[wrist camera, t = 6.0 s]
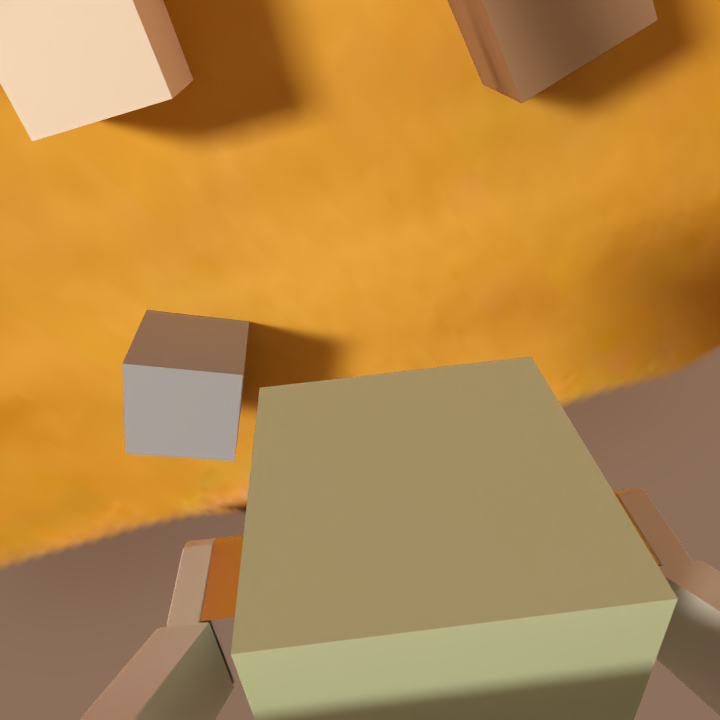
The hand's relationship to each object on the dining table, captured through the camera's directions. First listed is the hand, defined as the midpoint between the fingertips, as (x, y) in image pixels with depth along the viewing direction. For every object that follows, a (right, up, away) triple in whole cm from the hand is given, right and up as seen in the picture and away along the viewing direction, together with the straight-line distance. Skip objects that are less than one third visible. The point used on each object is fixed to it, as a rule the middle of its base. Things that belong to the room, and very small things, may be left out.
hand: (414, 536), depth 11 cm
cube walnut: (+5, +18, +12) cm, 22 cm away
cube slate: (-10, +3, +20) cm, 22 cm away
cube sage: (0, +1, +1) cm, 2 cm away
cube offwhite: (-11, +16, +12) cm, 23 cm away
